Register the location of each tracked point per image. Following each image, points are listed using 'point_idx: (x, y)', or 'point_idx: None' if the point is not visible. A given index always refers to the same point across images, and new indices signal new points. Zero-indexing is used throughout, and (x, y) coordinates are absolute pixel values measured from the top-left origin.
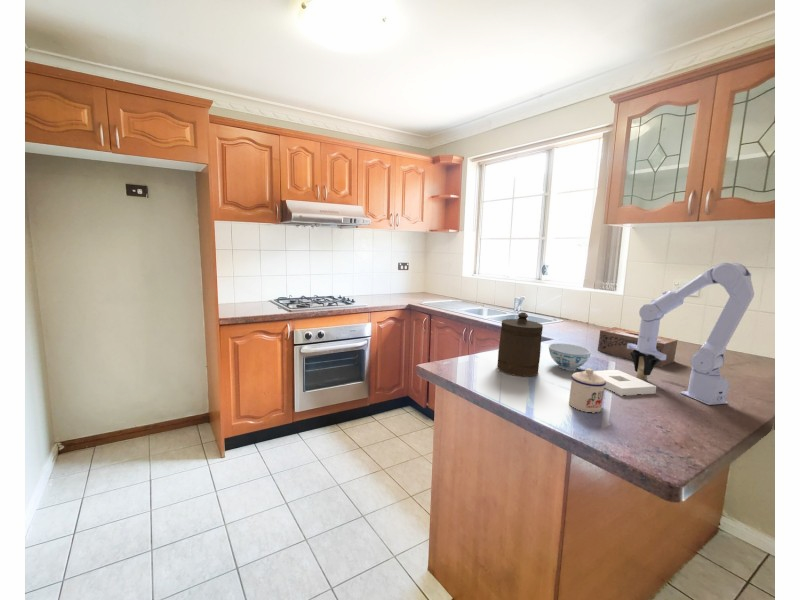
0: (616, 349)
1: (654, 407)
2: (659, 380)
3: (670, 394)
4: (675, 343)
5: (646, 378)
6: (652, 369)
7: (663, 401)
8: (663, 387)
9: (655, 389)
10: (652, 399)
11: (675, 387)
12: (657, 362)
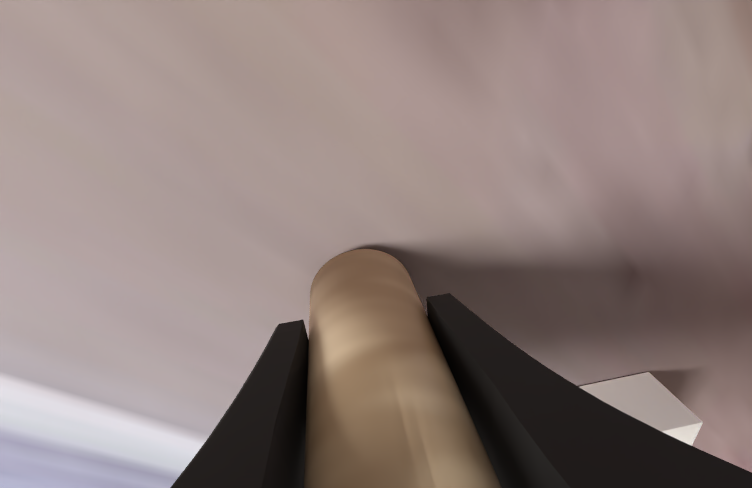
0: None
1: (743, 466)
2: (399, 63)
3: (710, 274)
4: None
5: (410, 280)
6: (505, 338)
7: (737, 394)
8: (590, 213)
9: (675, 401)
10: None
11: (640, 52)
12: (708, 458)
